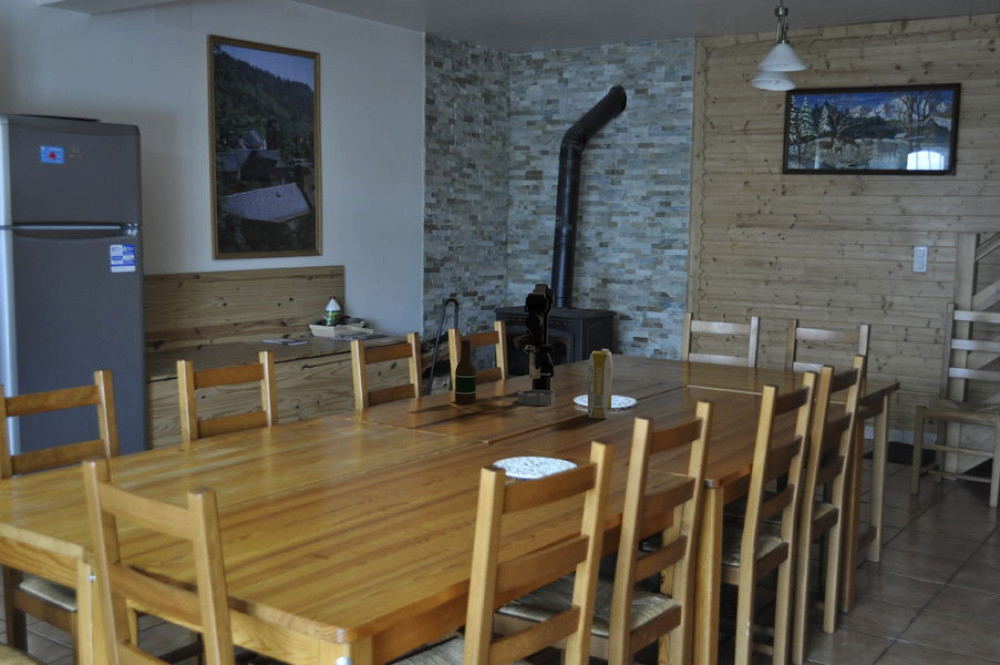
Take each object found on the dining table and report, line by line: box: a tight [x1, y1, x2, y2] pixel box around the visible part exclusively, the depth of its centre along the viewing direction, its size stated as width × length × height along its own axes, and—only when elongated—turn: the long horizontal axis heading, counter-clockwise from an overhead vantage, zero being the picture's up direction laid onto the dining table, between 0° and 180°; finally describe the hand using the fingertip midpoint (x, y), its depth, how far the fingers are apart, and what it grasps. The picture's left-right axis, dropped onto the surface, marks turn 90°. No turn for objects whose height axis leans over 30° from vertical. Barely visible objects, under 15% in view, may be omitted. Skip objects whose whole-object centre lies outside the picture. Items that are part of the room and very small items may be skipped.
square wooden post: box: [528, 351, 541, 380], centre depth 369 cm, size 3×3×10 cm
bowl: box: [517, 389, 556, 408], centre depth 370 cm, size 13×13×4 cm
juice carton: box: [587, 348, 614, 420], centre depth 346 cm, size 9×8×24 cm
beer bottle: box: [454, 339, 477, 405], centre depth 366 cm, size 8×8×24 cm
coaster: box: [482, 395, 514, 402], centre depth 376 cm, size 9×9×1 cm
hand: (535, 368), depth 369 cm, fingers closed on square wooden post, 3 cm apart
